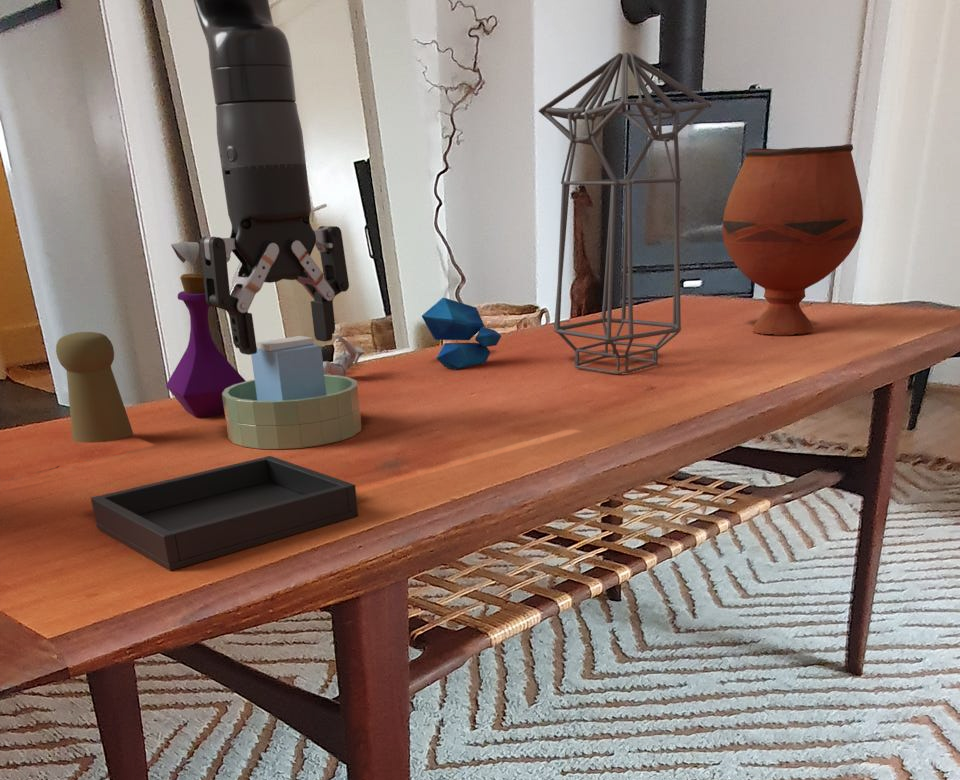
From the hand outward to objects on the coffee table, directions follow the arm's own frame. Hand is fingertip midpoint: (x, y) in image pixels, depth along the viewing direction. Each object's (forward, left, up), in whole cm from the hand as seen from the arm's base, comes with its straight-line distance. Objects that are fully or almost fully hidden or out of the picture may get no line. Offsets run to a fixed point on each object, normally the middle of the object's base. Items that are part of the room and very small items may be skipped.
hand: (287, 346), depth 94 cm
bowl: (0, 0, -9) cm, 9 cm away
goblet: (+84, -2, -9) cm, 84 cm away
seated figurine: (+18, +20, -9) cm, 28 cm away
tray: (-18, -19, -9) cm, 28 cm away
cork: (-15, +12, -9) cm, 21 cm away
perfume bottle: (-1, +16, -9) cm, 18 cm away
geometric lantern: (+48, -1, -9) cm, 49 cm away
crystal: (+36, +16, -9) cm, 40 cm away
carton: (0, 0, -8) cm, 8 cm away
